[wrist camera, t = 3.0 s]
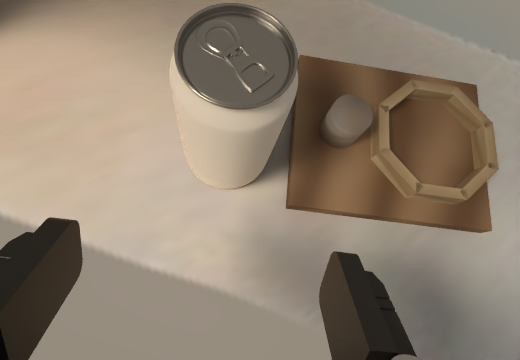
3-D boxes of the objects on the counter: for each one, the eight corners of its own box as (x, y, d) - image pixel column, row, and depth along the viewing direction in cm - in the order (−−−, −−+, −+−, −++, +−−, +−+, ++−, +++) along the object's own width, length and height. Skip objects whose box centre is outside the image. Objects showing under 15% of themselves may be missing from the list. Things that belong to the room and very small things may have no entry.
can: (230, 98, 28) (243, -26, 17) (284, 155, 28) (335, 64, 16) (167, 145, 26) (133, 40, 15) (222, 208, 26) (230, 146, 14)
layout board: (285, 208, 26) (299, 194, 22) (296, 63, 30) (309, 29, 26) (480, 232, 28) (525, 224, 24) (466, 92, 32) (503, 64, 28)
